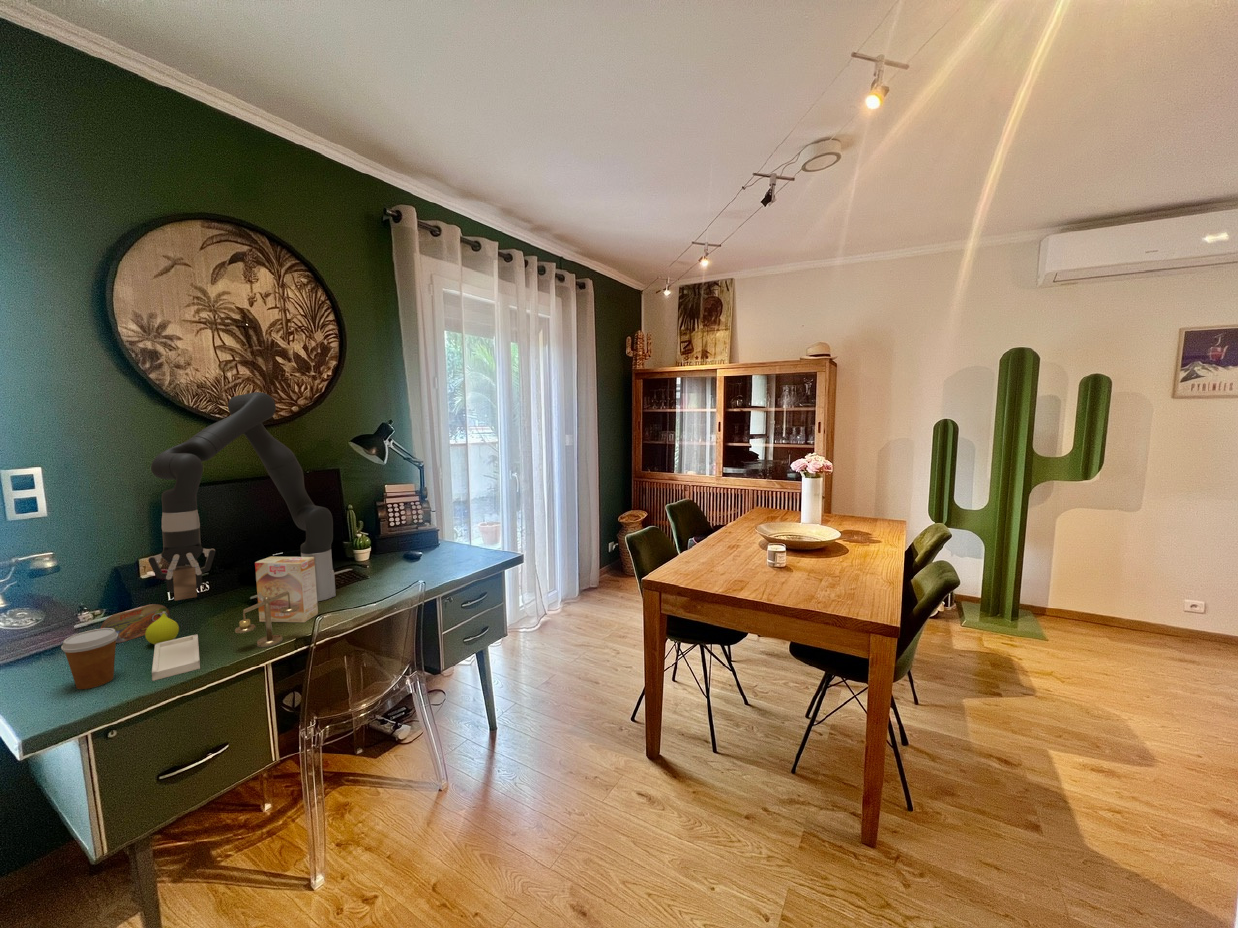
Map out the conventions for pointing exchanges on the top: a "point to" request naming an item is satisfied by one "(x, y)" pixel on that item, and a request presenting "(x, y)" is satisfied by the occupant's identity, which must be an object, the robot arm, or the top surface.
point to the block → (184, 582)
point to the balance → (266, 621)
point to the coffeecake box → (287, 587)
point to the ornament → (162, 630)
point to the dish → (175, 657)
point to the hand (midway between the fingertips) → (185, 589)
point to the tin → (134, 621)
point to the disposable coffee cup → (91, 657)
